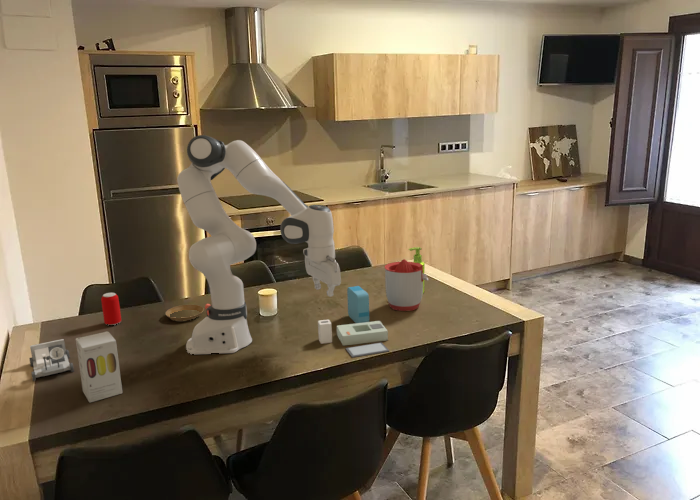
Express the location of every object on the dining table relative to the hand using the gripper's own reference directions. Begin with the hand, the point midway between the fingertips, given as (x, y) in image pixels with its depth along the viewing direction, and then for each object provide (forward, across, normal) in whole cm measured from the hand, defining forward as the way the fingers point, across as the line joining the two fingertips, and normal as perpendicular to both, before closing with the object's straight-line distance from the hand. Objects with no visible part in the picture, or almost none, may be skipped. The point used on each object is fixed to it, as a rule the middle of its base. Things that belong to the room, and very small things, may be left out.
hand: (323, 292), depth 195 cm
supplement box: (+17, +2, +73) cm, 75 cm away
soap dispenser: (+18, +26, -57) cm, 65 cm away
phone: (+19, -14, -8) cm, 25 cm away
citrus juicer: (+18, +13, -43) cm, 48 cm away
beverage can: (+17, +59, +63) cm, 88 cm away
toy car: (+17, +27, +85) cm, 91 cm away
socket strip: (+18, -4, -12) cm, 22 cm away
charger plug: (+18, 0, 0) cm, 18 cm away
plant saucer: (+17, +52, +37) cm, 66 cm away
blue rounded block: (+18, +11, -19) cm, 29 cm away
